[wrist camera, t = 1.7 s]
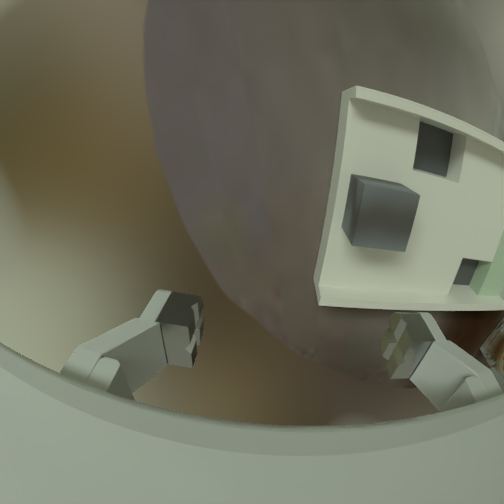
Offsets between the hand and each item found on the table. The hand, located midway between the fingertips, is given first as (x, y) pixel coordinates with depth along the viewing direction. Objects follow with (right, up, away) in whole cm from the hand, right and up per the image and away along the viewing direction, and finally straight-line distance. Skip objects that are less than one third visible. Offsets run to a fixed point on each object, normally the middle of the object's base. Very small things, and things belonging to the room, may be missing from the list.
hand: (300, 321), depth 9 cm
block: (+9, +6, +14) cm, 18 cm away
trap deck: (+21, +7, +16) cm, 28 cm away
